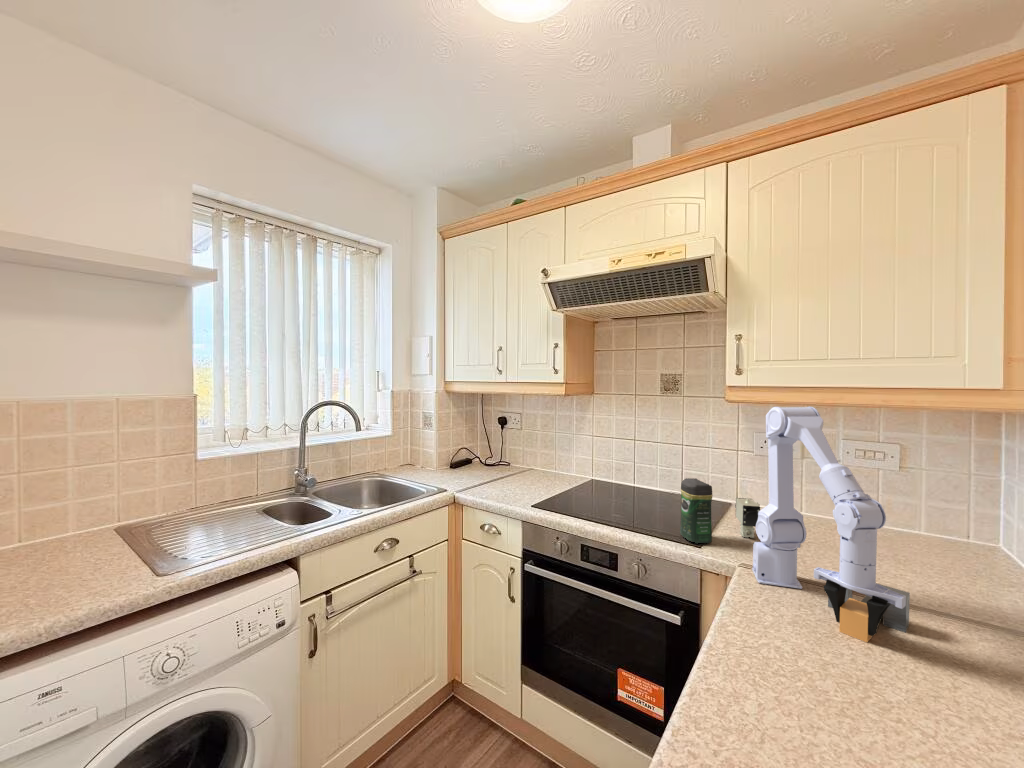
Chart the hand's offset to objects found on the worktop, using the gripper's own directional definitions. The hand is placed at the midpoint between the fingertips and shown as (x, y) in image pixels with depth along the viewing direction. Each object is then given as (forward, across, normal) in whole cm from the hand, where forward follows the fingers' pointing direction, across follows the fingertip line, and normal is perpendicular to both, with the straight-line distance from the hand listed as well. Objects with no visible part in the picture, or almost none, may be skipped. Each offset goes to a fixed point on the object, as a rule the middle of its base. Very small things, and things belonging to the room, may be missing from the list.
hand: (855, 627), depth 88 cm
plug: (+1, 0, -6) cm, 7 cm away
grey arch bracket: (+1, +1, -10) cm, 10 cm away
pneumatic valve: (+2, +40, -34) cm, 52 cm away
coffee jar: (+2, +47, -18) cm, 51 cm away
